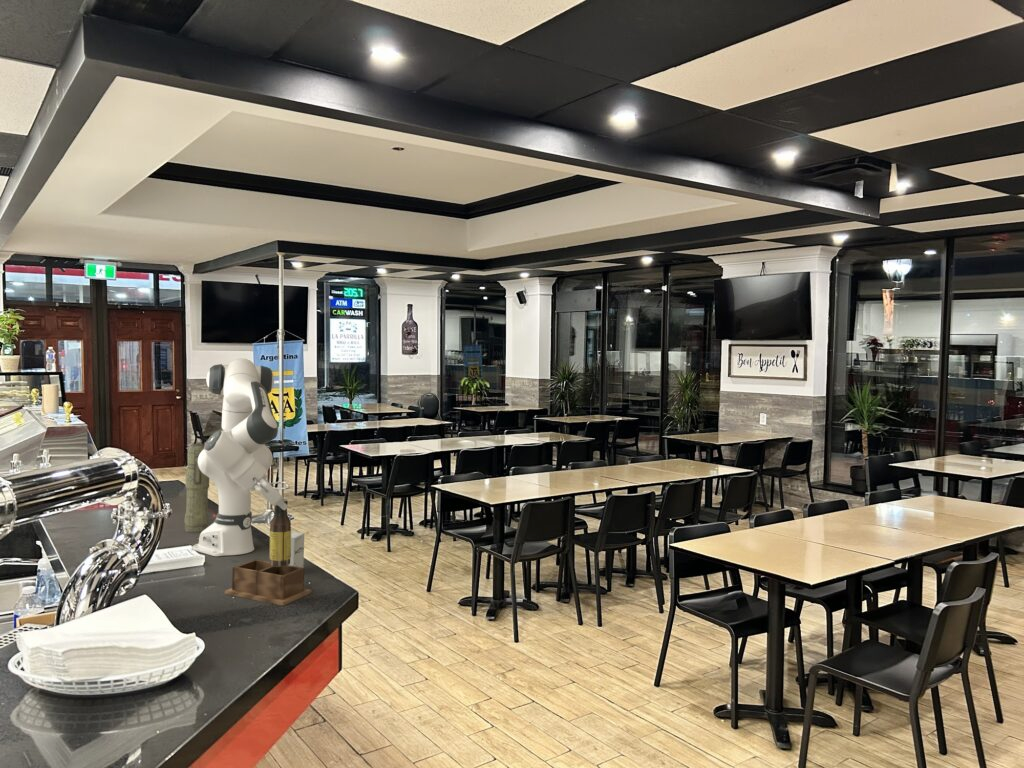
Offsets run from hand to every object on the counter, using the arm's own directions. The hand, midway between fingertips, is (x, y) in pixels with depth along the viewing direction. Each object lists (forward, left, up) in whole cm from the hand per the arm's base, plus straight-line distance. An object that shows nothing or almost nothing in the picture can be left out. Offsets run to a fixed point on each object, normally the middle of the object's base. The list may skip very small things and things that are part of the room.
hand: (284, 506), depth 223 cm
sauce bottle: (-1, -1, -18) cm, 18 cm away
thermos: (-80, +46, -28) cm, 96 cm away
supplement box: (-14, +21, -28) cm, 37 cm away
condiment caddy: (-5, 0, -28) cm, 28 cm away
